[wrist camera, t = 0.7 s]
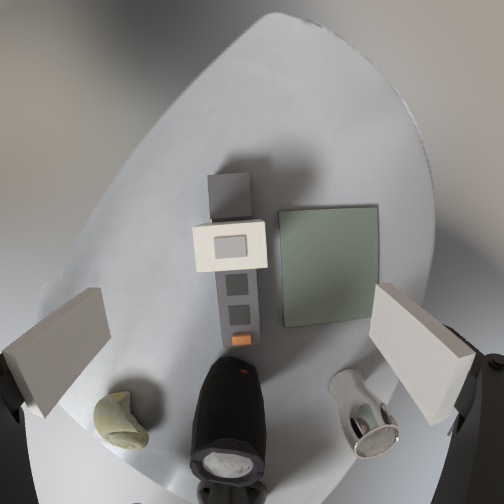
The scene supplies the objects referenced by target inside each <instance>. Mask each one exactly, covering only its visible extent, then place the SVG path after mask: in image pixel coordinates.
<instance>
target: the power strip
mask: <svg viewBox="0 0 504 504" xmlns="http://www.w3.org/2000/svg"><path fill="white" fill-rule="evenodd" d="M207 177H208V192H209V206H210V219H212V223H214V222H226V221H240V220H252V203H251V188H250V174H249V172H242V173H229V174H218V175H207ZM215 276H216V286H217V296H218V305H219V314H220V323H221V332H222V340H223V348H226V347H244V346H258V345H261V333H260V319H259V304H258V289H257V274H256V269H242V270H228V271H215Z"/></svg>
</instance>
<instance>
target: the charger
mask: <svg viewBox="0 0 504 504" xmlns="http://www.w3.org/2000/svg"><path fill="white" fill-rule="evenodd" d="M193 238H194V249H195V259H196V268H197V273H198V272H213V271H228V270H242V269H256V268H268V265H267V249H266V234H265V222H264V221H263V220H261V219H254V220H240V221H226V222H214V223H204V224H201V225H198V226H195V227H193Z"/></svg>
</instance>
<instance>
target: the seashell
mask: <svg viewBox="0 0 504 504" xmlns="http://www.w3.org/2000/svg"><path fill="white" fill-rule="evenodd" d="M130 397H131V393H130V391H123V392H117V393H112V394H109V395H107V396H105V397H103V398H102V399H101V400H99V402H98V403H97V404H96V406H95V410H94V424H95V427H96V429H97V431H98V433H99V434H100V435H101V437H102V438H103V439H105V440H106V441H108V442H109V443H111V444H113V445H115V446H118V447H121V448H125V449H130V450H139V449H143V448H144V447H145V446H146V445H147V444H148V441H149V435H148V433H147V431H146V430H145V429H144V428H143V427H142V426H141V425H140V424H138V422H137V420H136V418H135V417H134V416H133V415H132V414H131V413H130V407H129V406H130Z"/></svg>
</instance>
